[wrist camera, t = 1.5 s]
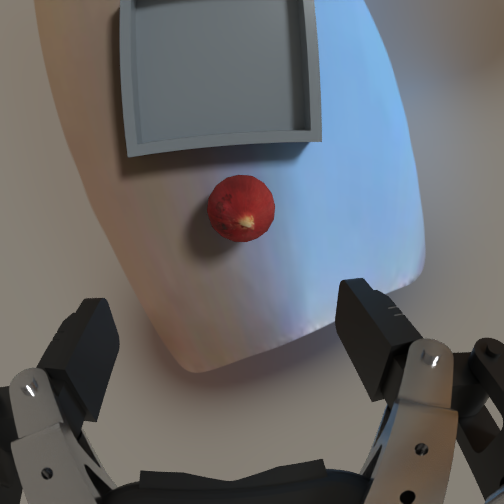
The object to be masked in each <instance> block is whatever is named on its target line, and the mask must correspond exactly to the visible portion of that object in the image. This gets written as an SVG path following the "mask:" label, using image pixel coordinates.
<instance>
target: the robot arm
mask: <svg viewBox="0 0 504 504" xmlns="http://www.w3.org/2000/svg"><path fill="white" fill-rule="evenodd" d="M335 325H336V330H337V334H338V336H339V338H340V340H341V341H342V343H343V345H344V347H345V349H346V351H347V353H348V355H349V357H350V359H351V361H352V363H353V365H354V367H355V369H356V371H357V373H358V375H359V377H360V379H361V381H362V383H363V385H364V387H365V389H366V390H367V393H368V395H369V397H370V399H371V401H372V402H374V401H378V400H382V399H385V401H386V402H387V406H386V408H385V411H384V414H383V417H382V420H381V422H380V426H379V428H378V431H377V434H376V437H375V439H374V442H373V445H372V448H371V450H370V452H369V455H368V457H367V459H366V461H365V463H364V465H363V467H362V469H361V471H360V474H357V473H353V472H349V471H344V470H336V469H326V468H325V465H324V462H323V459H319V460H314V461H309V462H304V463H298V464H292V465H286V466H279V467H276V468H273V469H270V470H267V471H264V472H261V473H258V474H255V475H252V476H249V477H246V478H242V479H239V480H236V481H223V480H217V479H212V478H206V477H202V476H197V475H192V474H187V473H178V472H155V471H140V481H138V482H134V483H129V484H126V485H123V486H120V487H117V486H116V484H115V483H114V482H113V481H112V479H111V478H110V477H109V475H108V474H107V472H106V471H105V469H104V467H103V466H102V464H101V462H100V460H99V458H98V457H97V455H96V453H95V451H94V449H93V447H92V445H91V444H90V442H89V440H88V438H87V436H86V434H85V432H84V430H83V429H82V425H83V421H91V422H97V419H98V416H99V412H100V409H101V405H102V402H103V398H104V395H105V392H106V388H107V385H108V382H109V379H110V376H111V372H112V369H113V366H114V363H115V360H116V357H117V354H118V351H119V345H120V344H119V335H118V332H117V329H116V326H115V323H114V320H113V317H112V314H111V310H110V307H109V304H108V302H107V300H106V299H105V298H87V299H84V300H83V301H82V303H81V305H80V306H79V308H78V309H77V311H76V313H72V314H71V315H70V316H69V317H68V318H67V319H65V320H64V321H63V322H62V324H61V326H60V327H59V329H58V331H57V333H56V334H55V336H54V337H53V341H51V342H50V344H49V346H48V348H47V349H46V351H45V353H44V355H43V356H42V358H41V360H40V362H39V363H38V365H37V367H36V368H29V369H26V370H23V371H21V372H20V373H18V374H17V375H16V376H15V377H14V378H13V380H12V382H11V383H10V386H7V387H0V504H20V499H21V494H22V489H23V490H24V493H25V496H26V499H27V501H28V504H443V502H444V498H445V494H446V490H447V485H448V481H449V476H450V471H451V466H452V461H453V454H454V448H455V441H456V440H457V442H458V444H459V446H460V448H461V450H462V452H463V454H464V456H465V458H466V460H467V462H468V464H469V466H470V468H471V470H472V473H473V475H474V477H475V479H476V481H477V484H478V486H479V488H480V490H481V493H482V495H483V497H484V499H485V504H504V344H503V343H501V342H500V341H498V340H495V339H492V338H482V339H479V340H478V341H477V342H476V344H475V345H474V348H473V350H472V352H468V353H467V352H466V353H452V351H451V350H450V349H449V347H448V346H446V345H445V344H444V343H442V342H440V341H438V340H435V339H428V338H425V339H424V338H423V337H422V336H421V335H420V333H419V332H418V331H417V330H416V329H415V327H414V326H413V325H412V324H411V322H410V321H409V320H408V319H407V318H406V316H405V315H403V314H402V312H401V310H400V309H399V308H397V307H396V305H395V303H394V302H393V301H392V300H391V299H390V298H389V297H388V296H387V295H385V294H383V293H382V292H380V291H378V290H373V289H372V288H371V287H370V285H369V284H368V283H367V282H366V281H365V279H363V278H356V279H348V280H342V281H341V282H340V285H339V292H338V301H337V308H336V316H335ZM489 397H490V398H491V400H492V401H493V403H494V404H495V406H496V407H497V409H498V410H499V412H500V413H501V415H502V418H503V427H502V430H501V431H500V429H499V428H498V426H497V424H496V423H495V421H494V419H493V418H492V416H491V414H490V413H489V411H488V410H487V408H486V406H485V405H484V404H485V403H486V401H487V399H488V398H489Z"/></svg>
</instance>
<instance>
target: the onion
mask: <svg viewBox="0 0 504 504" xmlns="http://www.w3.org/2000/svg"><path fill="white" fill-rule="evenodd" d="M274 212H275V204H274V200H273V196H272V193H271V192H270V190H269V189H268V188H267V186H266V185H265V184H264V183H263V182H262V181H260V180H258V179H256V178H255V177H253V176H247V175H236V176H232V177H228V178H226V179H225V180H223V181H222V182H220V183H219V184H218V185H216V187H215V188H214V190H213V192H212V193H211V195H210V197H209V200H208V207H207V213H208V216H209V219H210V222H211V224H212V227H213V228H214V229H215V230H216V231H217V232H218V233H219V234H220V235H221V236H222V237H224V238H227V239H229V240H232V241H235V242H248V241H251V240H254V239H257V238H258V237H260V236H261V235H263V234H264V233H265V232H267V230H268V229H269V227H270V225H271V223H272V222H273V220H274Z"/></svg>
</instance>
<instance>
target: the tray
mask: <svg viewBox="0 0 504 504" xmlns="http://www.w3.org/2000/svg"><path fill="white" fill-rule="evenodd" d="M120 73H121V91H122V106H123V118H124V128H125V138H126V147H127V155H128V157H135V156H141V155H148V154H154V153H162V152H169V151H177V150H185V149H194V148H204V147H215V146H227V145H240V144H257V143H279V142H322V122H321V91H320V70H319V54H318V40H317V27H316V16H315V6H314V0H120Z"/></svg>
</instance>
